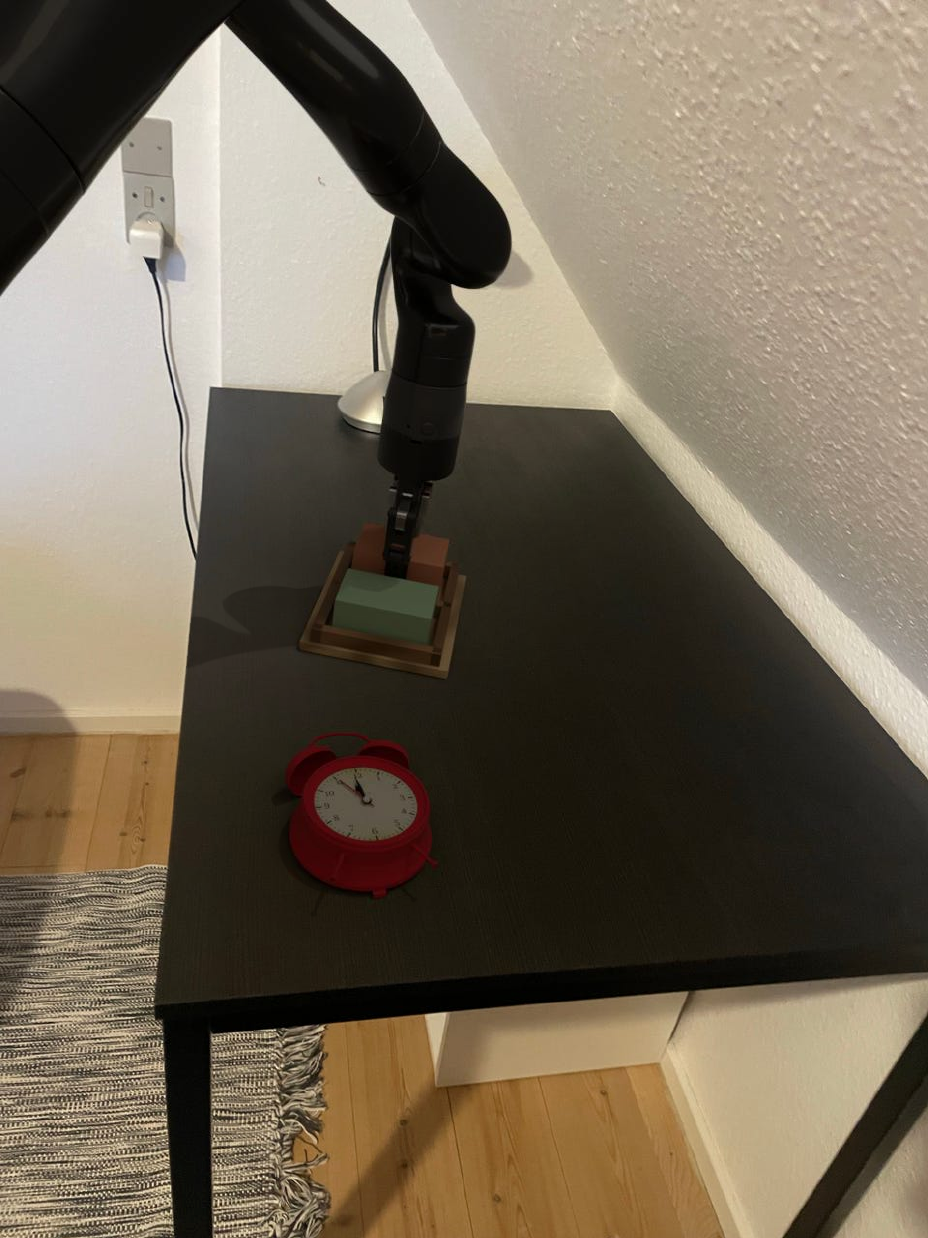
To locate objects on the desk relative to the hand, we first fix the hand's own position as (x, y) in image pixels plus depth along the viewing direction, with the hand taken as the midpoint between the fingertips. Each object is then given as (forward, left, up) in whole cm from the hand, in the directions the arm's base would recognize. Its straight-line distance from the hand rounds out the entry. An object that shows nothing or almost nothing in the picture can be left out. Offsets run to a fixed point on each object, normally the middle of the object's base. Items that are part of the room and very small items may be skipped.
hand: (398, 572), depth 97 cm
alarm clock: (+2, -33, -3) cm, 33 cm away
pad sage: (0, -8, -2) cm, 8 cm away
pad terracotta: (0, 0, -1) cm, 1 cm away
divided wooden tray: (0, -4, -3) cm, 5 cm away
